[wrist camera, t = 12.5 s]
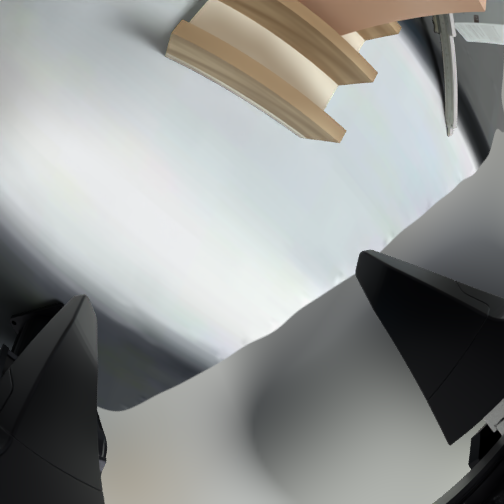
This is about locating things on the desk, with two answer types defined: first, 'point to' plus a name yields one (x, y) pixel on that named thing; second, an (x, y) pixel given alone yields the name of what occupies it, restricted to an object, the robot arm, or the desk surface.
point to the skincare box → (482, 23)
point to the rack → (276, 59)
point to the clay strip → (383, 11)
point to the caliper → (448, 66)
